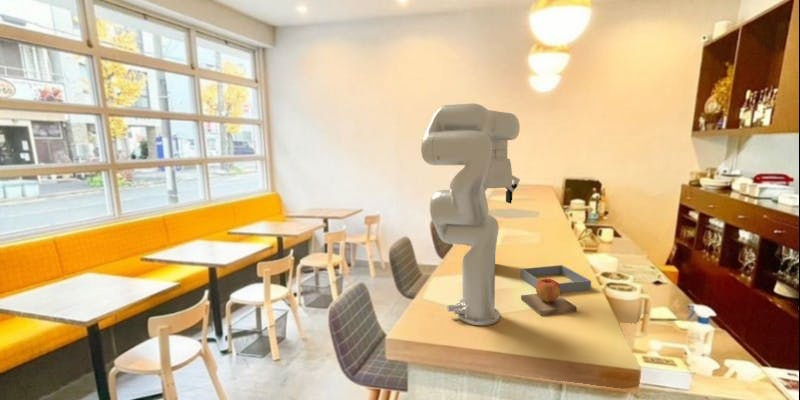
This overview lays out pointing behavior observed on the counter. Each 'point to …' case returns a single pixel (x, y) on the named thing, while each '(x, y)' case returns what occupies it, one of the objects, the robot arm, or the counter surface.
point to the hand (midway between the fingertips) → (495, 203)
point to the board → (548, 305)
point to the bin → (576, 286)
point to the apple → (548, 289)
